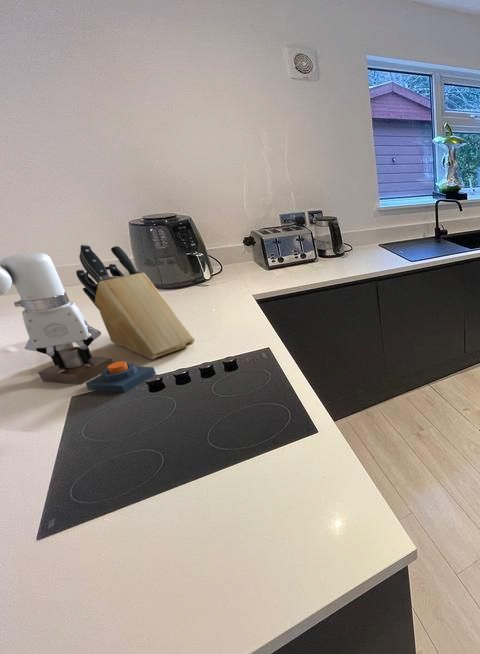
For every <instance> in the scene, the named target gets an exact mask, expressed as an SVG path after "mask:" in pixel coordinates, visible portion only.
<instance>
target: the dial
mask: <svg viewBox="0 0 480 654" xmlns="http://www.w3.org/2000/svg"><path fill="white" fill-rule="evenodd" d="M79 351H80V347H79V346H74V347H69V348H65V349H63V350H61V351H59V352H58V353H59V356H60V358H61V360H62V362H63V364H64V366H65V368H74V367H78V366H81V365H83V364H85V363H84V361H83V359H82V356H81V354H80V352H79Z"/></svg>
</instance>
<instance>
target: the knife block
mask: <svg viewBox="0 0 480 654" xmlns="http://www.w3.org/2000/svg"><path fill="white" fill-rule="evenodd" d="M110 250H111V253H112V254H113V255H114V257H116V258H117V260H118V261H119V263H120V265H122V267H123V268H124V269H125V270H126V271H128V274H129V275H124V273H123V272H122V270H120V269H119V268H118V267H117V264H116V263H110V264H109V265H108V266H105V264H104V263H103V262H102V260H101V258H100V257H99V256H98V255H97V254H96V253H95V252H94V251H93V250H92V247H91V245H90V244H80V251H79V255H78V256H79V261H80V264H81V266H82V267H83V269H77V270H76V271H75V275H76V277H77V279H78V280H79V282H80V283H81V284H82V285H83V288H82V291H83V293H84V294H85V295H86V296H87V297H88V299H89V300H90V301H91V303H93V305H94V306H95V307H96V308H97V309H98V311H99V314H100V317H101V320H102V321H103V324H104V327H105V329H106V331H107V334H108V336H109V339H110V341H111V343H114V344H115V345H119V346H121V347H123V348H125V349H128V350H131V351H132V352H134V353H137V354H138V355H141V356H143V357H145V358H147V359H149V360H154V359H156V358H159V357H162V356H164V355H168V354H170V353H173V352H176V351H179V350H182V349H184V348H187V347H189V346H192V345H194V343H195V338H194V337H193V335H192V334H191V333H190V331H189V330H188V329H187V327H186V326H185V325H184V323H183V322H182V320H181V319H180V318H179V317H178V316H177V314H176V312H175V311H174V310H173V309H172V307H171V305H169V303H168V302H167V300H166V299H165V298H164V297H163V295H162V294H161V293H160V292H159V290H158V289H157V288H156V286H155V285H154V283H153V282H152V281H151V279H150V278H149V277H148V276H147V274H146V273H145V272H141V271H138V270H137V269H136V267H135V266H134V264H133V262H132V260H131V258H130V257H129V256H128V255H127V253H126V252H125V251H124V250H123V248H121V246H119V245H115V246H112V247H111V248H110ZM108 270H109V272H110V274H111V275H110V274H109V272H108ZM85 271H86V272H85Z"/></svg>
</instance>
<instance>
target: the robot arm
mask: <svg viewBox="0 0 480 654" xmlns="http://www.w3.org/2000/svg"><path fill="white" fill-rule="evenodd" d="M12 285H13V286H14V287H15V289H16V291H17V293H18V295H19V297H20V300H18V301H14V302H13V304H14V306H15V308H19V307H20V308H24V310H23V311H21V313H22V319H23V324H24V326H25V329H26V333H27V335H28V341H27V342H26V344H25V345H24V350H27V351H32V352H37V353H41V354H44V355H46V356H47V357H50V358H51V360H52V362H53V365H58V367H59V368H60V369H61V368H64V364H63V362H62V360H61V358H60V356H59V353H58V352H59V351H58V350H56V346H57V345H62V344H67V343H76V345H77V347H80V351H79V352H80V354H81V356H82V359H83V361H84V363H89V360H90V358H92V356H93V355H92V353H91V350H90V348H89V347H90V345H91V344H92V343H93V342H94V341H95V340H96V339H98V338H99V337H100V336H101V335H102V332H101V331H100V330H98V329H97V328H95V327H92V326H91V325H89V324H88V322H87V320H86V318H85V317H84V315H83V313H82V312H81V310H80V308H79V307H78V306H77V305H76V303H75V302H74V301H70V299H69V297H68V294H67V292H66V289H65V287H64V285H63V283H62V280H61V278H60V276H59V274H58V271H57V269H56V267H55V265H54V263H53V260H52V258H51V256H49V254H46V253H44V252H26V253H19V254H15V255H14V254H13V255H11V256H0V296H4V295H5V294H6V293H7V292H9V290H10V289H11V288H12Z"/></svg>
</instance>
